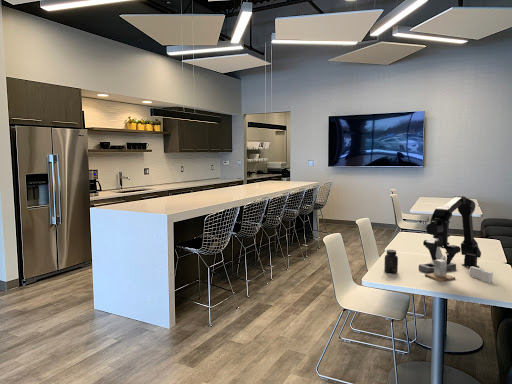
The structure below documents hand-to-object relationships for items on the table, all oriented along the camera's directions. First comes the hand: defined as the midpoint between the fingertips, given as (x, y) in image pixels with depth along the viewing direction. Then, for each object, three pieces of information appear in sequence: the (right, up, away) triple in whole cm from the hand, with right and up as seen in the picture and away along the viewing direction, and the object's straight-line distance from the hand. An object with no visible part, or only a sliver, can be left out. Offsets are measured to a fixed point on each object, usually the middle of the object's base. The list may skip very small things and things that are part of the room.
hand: (440, 262), depth 196 cm
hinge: (+14, -6, +33) cm, 36 cm away
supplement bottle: (-22, -8, +10) cm, 25 cm away
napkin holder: (+20, -9, -2) cm, 22 cm away
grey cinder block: (+5, -7, +15) cm, 17 cm away
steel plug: (0, -7, +1) cm, 7 cm away
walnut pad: (0, -8, +1) cm, 8 cm away
